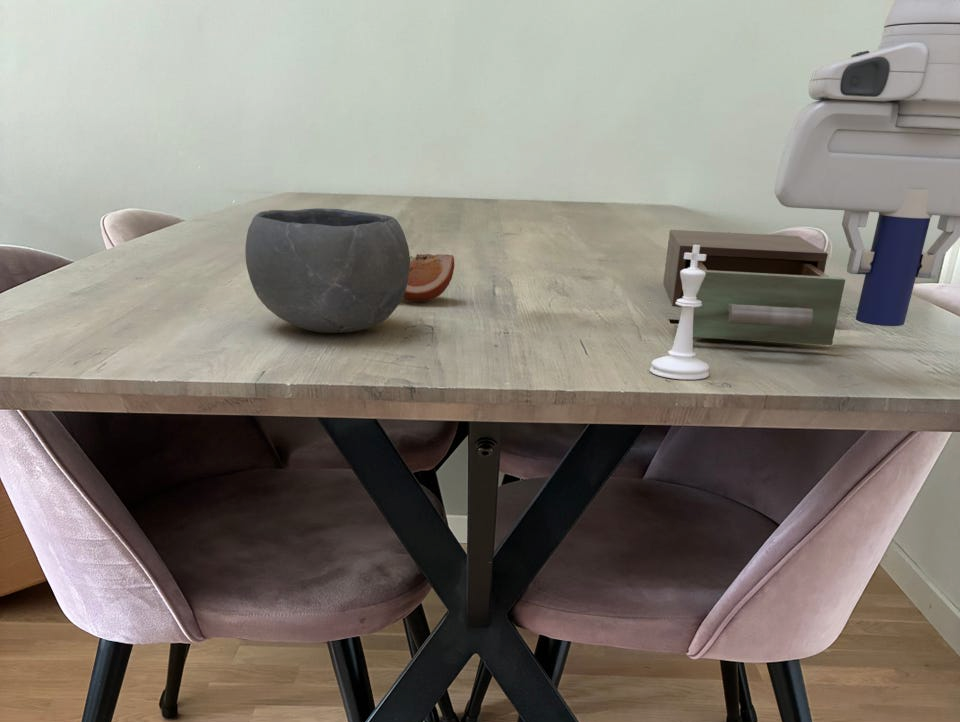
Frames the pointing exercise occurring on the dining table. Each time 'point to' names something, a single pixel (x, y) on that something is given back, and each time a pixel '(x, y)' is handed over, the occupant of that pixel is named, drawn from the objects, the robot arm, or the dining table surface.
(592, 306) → the dining table surface
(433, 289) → the fruit slice
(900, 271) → the glue stick
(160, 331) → the dining table surface
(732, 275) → the drawer
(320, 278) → the bowl
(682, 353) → the chess piece
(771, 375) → the dining table surface
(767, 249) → the cabinet
